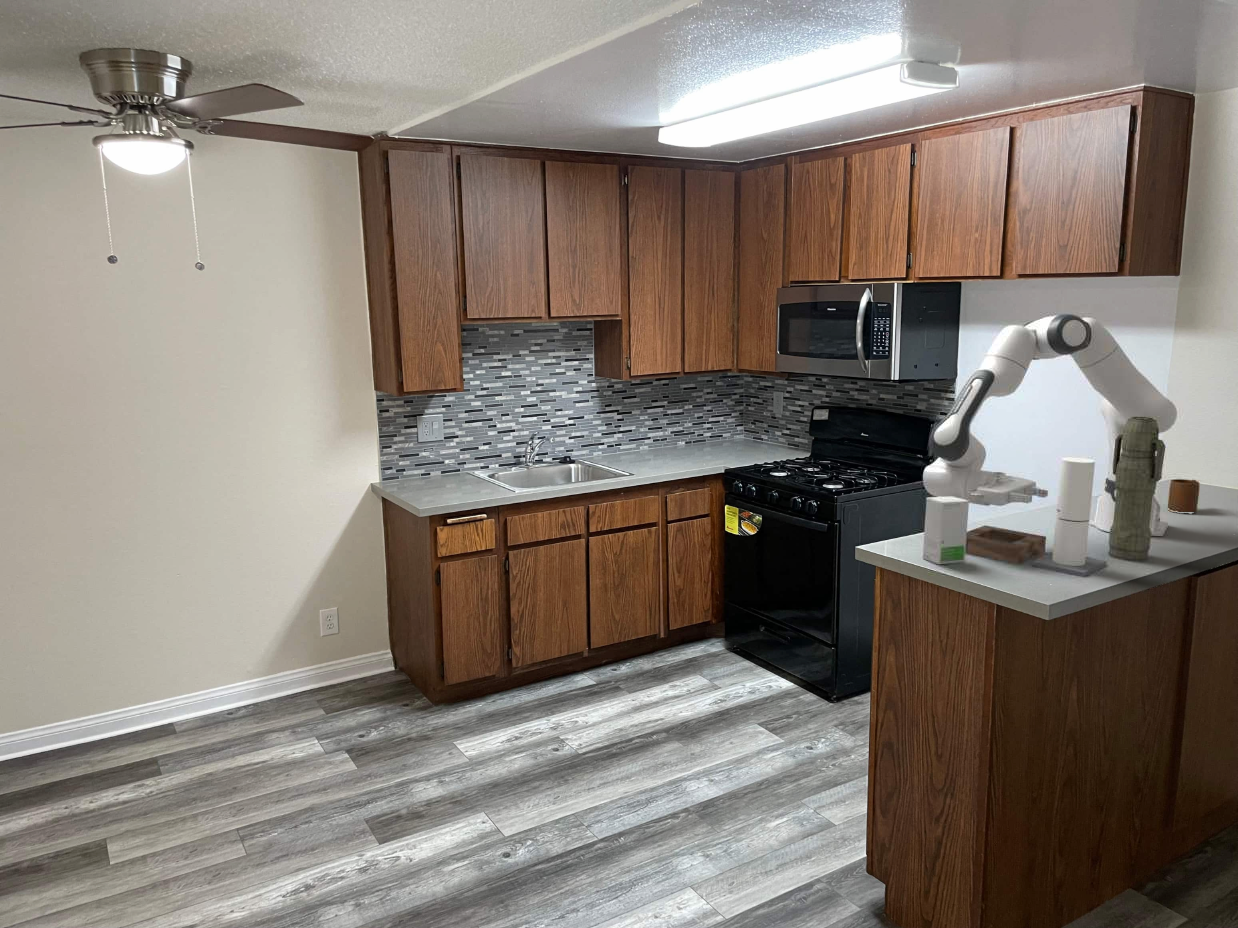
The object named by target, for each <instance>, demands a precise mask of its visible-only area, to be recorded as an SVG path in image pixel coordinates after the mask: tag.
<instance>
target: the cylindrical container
mask: <svg viewBox="0 0 1238 928" xmlns="http://www.w3.org/2000/svg"><path fill="white" fill-rule="evenodd" d="M1095 466H1096V460H1095V459H1090V458H1086V457H1075V456H1074V457H1073V456H1072V457H1071V456H1068V457H1062V458H1061V461H1060V470H1059V482H1058V495H1057V504H1056V516H1055V525H1054V534H1053V546H1052V547H1053V548H1052V553H1053V556H1052V561H1054V562H1056V563H1059V564H1063V565H1069V566H1081V565H1084V564H1085V558H1086V557H1087V547H1088V537H1089V526H1090V524H1089V522H1090V517H1091V507H1092V497H1093V487H1094V486H1093V485H1094V476H1095Z"/></svg>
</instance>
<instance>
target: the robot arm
mask: <svg viewBox="0 0 1238 928" xmlns="http://www.w3.org/2000/svg"><path fill="white" fill-rule="evenodd" d="M1069 355H1070V357H1072V359H1073V360H1074V362H1075V363H1076V365H1077V367H1078V369H1079V370H1080V371H1081V373H1082V374H1083V375H1084V376H1085V378H1086V380H1088V382H1089V383H1090V385H1091V386H1092V387H1093V389H1094V390H1095V391H1096V392H1097V393H1099V394H1100V395H1101V396H1102V397H1103V399H1102V401H1101V404H1100V412H1101V414H1102V416H1103V418H1104V420H1105V423H1106V430H1107V437H1108V444H1109V458H1108V459H1109V460H1108V471H1107V477H1106V478H1105V482H1104V491H1105V492H1104V493H1103V494H1101V495H1100V496H1099V497H1098V499H1097V506H1096V512H1095V516H1094V519H1089V525H1091V526H1094V527H1096V528H1097V529H1099V530H1101V531H1104V532H1108V533H1110V528H1111V526H1112V525H1113V520H1114V510H1115V501H1116V491H1117V490H1116V487H1115V479H1116V477H1115V475H1114V474H1113V459H1114V449H1115V439H1116V438H1117V437H1118V436H1119V435H1121V434H1123V429H1124V426H1125V424H1126V422H1127V420H1128V419H1129V418H1131V417H1148V418H1153V420H1156V421H1157V425H1158V429H1159V434H1162V433H1164V432H1167V431H1168V430H1170V429H1171V428H1172V427H1173V426H1174V424H1175V423H1176V421H1177V417H1178V411H1177V407H1176V405H1175V404H1174V403H1173V402H1172V401H1171V400H1170V399H1168V397H1166V396H1165V395H1163V394H1162V393H1161V392H1160V391H1159V390H1158V388H1157V387H1155V386H1154V384H1153V383H1152V382H1151V381H1149V380H1148V378H1146V377H1145V376H1144V374H1142V373H1141V371H1139V370H1138V369H1137V368H1136V366H1135V365H1134V364H1133V363H1132V361H1131V360H1130V358H1129V356H1127V355H1126V353H1125V352H1124V350H1123V348H1122V347H1121V346H1120V344H1119V343H1118V342H1117V341H1116V338H1114V336H1113V335H1112V333H1110V332H1109V330H1107V328H1106V327H1105V326H1104V325H1103V324H1102V323H1100V322H1099V321H1098V319H1095V318H1094V317H1080V316H1077V315H1075V314H1071V313H1070V314H1068V313H1064V314H1058V315H1049V316H1046V317H1043V318H1041V319H1037V320H1033V321H1030V322H1029V321H1028V322H1027V323H1025V324H1024V325H1019V324H1012V325H1011V324H1010V325H1007V326H1006V327H1004V328H1003V329H1002V330H1001V331H1000V332H999V333H998V335H997V336H996V338H995V339H994V340H993V342H992V343H991V345H990V347H989V349H988V351H987V353H986V354H985V356H984V358H983V361H982V362H981V365H980V366H979V368H978V369H977V371H975V372H974V373H973V374H971V376H969V379H968V380H967V382H966V383H965V384H964V386H963V387H962V389H961V391H960V392H959V394H958V396H957V397H956V399H955V400H954V402H953V404H952V406H951V408H950V409H949V410H948V412H947V414H946V415H945V416H944V417H943V418H942V420H940V421H939V423H937V424H936V426H935V427H934V428H933V429H932V431H931V433H930V436H929V440H928V444H929V448H930V451H931V452H932V453H933V454H934V455H935V456H936V457H938V458H937V459H936V460H935V461H934V462H933V463H931V464H929V465H927V466H926V467H925V468H924V470H923V473H922V482H923V487H924V488H925V490H926V491H927V493H929V494H930V495H931V496H933V497H951V496H953V497H956V498H960V499H964V500H968V501H969V504H974V505H980V506H984V507H989V506H991V505H992V506H996V507H997V506H998V507H999V506H1006V505H1009V504H1012V503H1023V504H1029V503H1032V501H1033V500H1032V499H1033V496H1036V497H1038V498H1047V497H1048V495H1049V490H1047V489H1045V488H1044V489H1043V488H1040V487H1037V483H1036V482H1035V481H1034V480H1031V479H1027V478H1023V477H1020V476H1019V477H1017V476H1013V475H1006V473H1005V472H1001V471H987V470H981V469H982V467H983V466H984V463H985V460H986V456H987V452H986V448H985V446H984V445H983V444H982V443H981V441H979V439H977V437H975V436H974V435H973V433H971V425H972V423H973V421H974V419H975V417H976V416H977V414H978V413H979V411H980V410H981V407H982V405H983V404H984V403H985V401H986V400H987V399H989V398H990V397H996V398H1003V397H1006V396H1009V395H1012V394H1013V393H1015V392H1016V391H1017V389H1018V388H1019V387H1020V386H1021V384H1022V382H1023V380H1024V379H1025V376H1026V374H1027V371H1028V370H1029V367H1030V365H1031V363H1032V361H1033V360H1034V361H1037V360H1038V361H1039V360H1048V359H1055V358H1059V357H1063V356H1069ZM1121 454H1122V442H1121V452H1120V457H1121ZM1155 456H1156V455H1155ZM1157 483H1158V482H1156V484H1157ZM1155 494H1156V490H1155V491H1154V492H1153V498H1152V507H1151V516H1150V526H1149V528H1150V531H1151V537H1152V536H1153V537H1162V536H1164V534H1165V532H1166V531H1167V529H1168V526H1169V523H1168V522H1167V521H1163V520H1161V518H1160V515H1161V505H1160V503H1159V502H1158V500H1157V499H1156V497H1155Z"/></svg>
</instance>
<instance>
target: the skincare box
mask: <svg viewBox="0 0 1238 928" xmlns="http://www.w3.org/2000/svg"><path fill="white" fill-rule="evenodd" d="M969 505H970V503H969V501H968V500H964V499H960V498H956V497H953V496H951V497H937V496H931V497H926V503H925V518H924V519H925V520H924V532H923V548H922V559H923V560H926V561H929V562H931V563H934V564H937V565H945V564H946V565H947V564H957V563H958V562H959V563H965V560H966V553H965V549H966V535H967V532H968V521H969V518H968V517H969V509H970V508H969ZM959 563H958V564H959Z"/></svg>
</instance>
